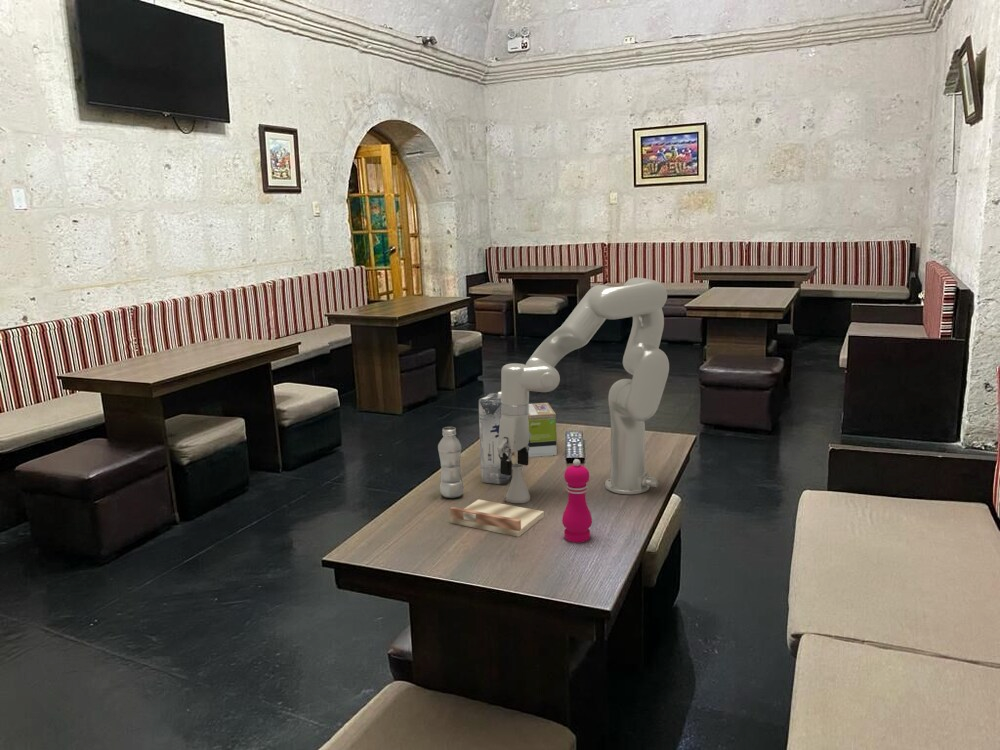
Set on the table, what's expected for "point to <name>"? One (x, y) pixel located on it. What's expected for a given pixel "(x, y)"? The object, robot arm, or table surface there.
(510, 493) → the flask
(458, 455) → the plastic bottle
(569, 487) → the pepper mill
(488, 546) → the table surface
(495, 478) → the juice carton
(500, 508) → the shelf board
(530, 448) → the tea box
